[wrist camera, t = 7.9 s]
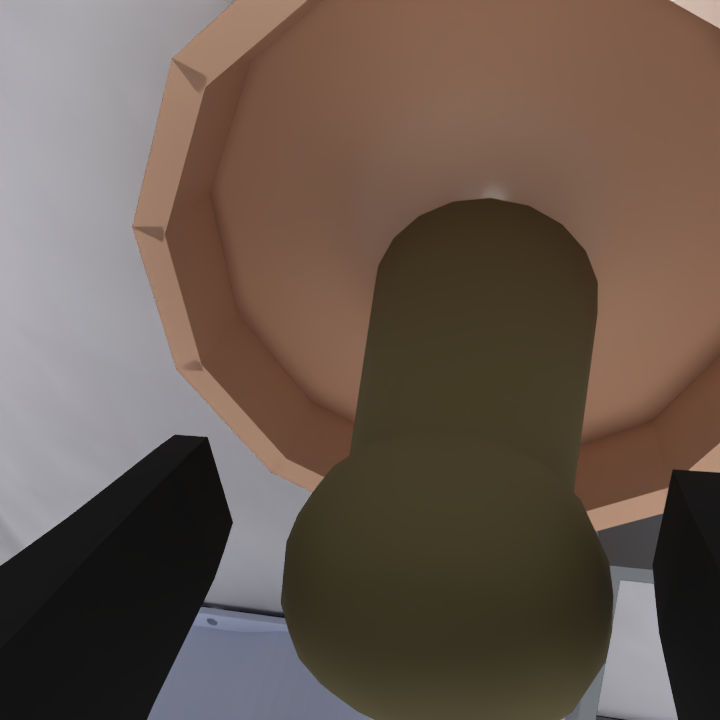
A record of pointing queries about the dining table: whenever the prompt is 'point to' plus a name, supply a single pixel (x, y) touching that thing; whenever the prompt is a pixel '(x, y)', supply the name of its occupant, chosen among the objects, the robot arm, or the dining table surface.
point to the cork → (461, 484)
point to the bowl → (435, 189)
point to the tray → (629, 563)
